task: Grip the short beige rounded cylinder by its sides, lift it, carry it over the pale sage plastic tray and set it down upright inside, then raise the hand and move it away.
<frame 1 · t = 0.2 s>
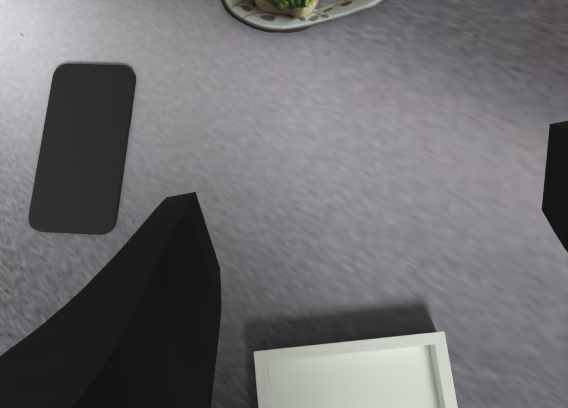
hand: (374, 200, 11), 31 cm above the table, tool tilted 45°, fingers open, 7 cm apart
phone: (87, 149, 46), on the table
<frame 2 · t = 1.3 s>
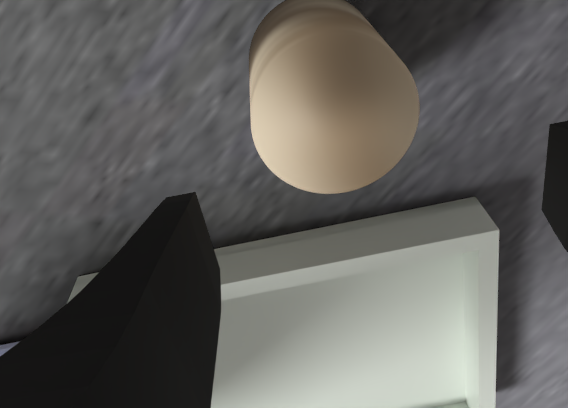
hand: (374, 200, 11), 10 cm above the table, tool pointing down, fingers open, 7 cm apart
beige rounded cylinder: (312, 60, 19), on the table
tray: (300, 345, 27), on the table
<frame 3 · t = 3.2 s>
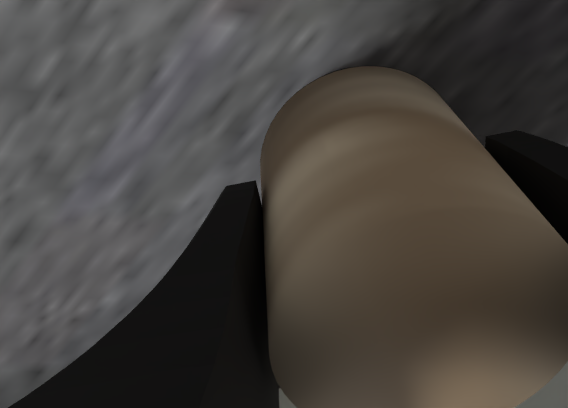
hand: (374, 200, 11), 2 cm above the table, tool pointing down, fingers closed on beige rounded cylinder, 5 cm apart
beige rounded cylinder: (359, 163, 12), on the table, touching gripper
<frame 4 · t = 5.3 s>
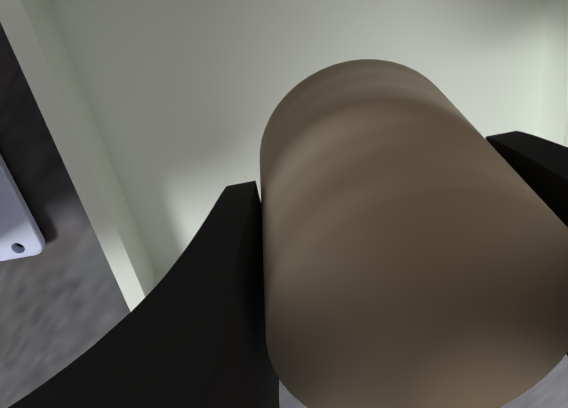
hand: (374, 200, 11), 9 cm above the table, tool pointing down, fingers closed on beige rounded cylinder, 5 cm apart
beige rounded cylinder: (358, 158, 12), point 8 cm above the table, touching gripper
tray: (319, 105, 20), on the table
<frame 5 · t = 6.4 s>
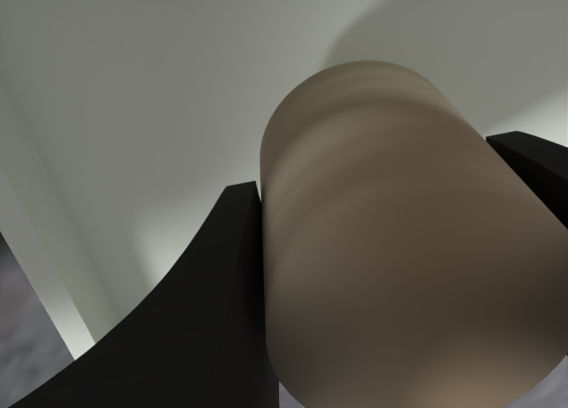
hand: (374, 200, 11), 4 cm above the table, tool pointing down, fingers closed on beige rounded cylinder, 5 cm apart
beige rounded cylinder: (358, 159, 12), point 3 cm above the table, touching gripper
tray: (340, 118, 15), on the table
when the fingers open (4 cm above the table, at t = 7.4 s): beige rounded cylinder drops 1 cm, resting on tray.
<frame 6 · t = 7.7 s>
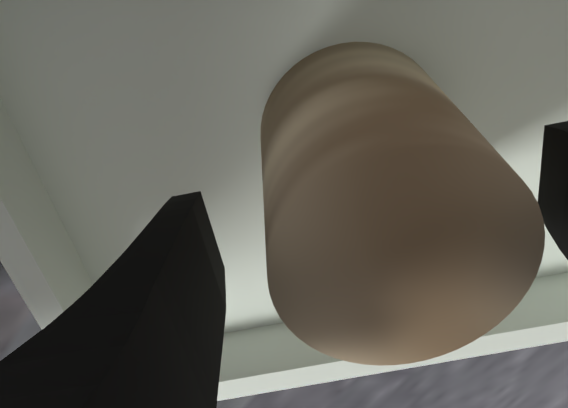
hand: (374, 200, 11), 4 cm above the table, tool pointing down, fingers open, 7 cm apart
beige rounded cylinder: (350, 133, 13), point 1 cm above the table, touching tray
tray: (345, 127, 14), on the table
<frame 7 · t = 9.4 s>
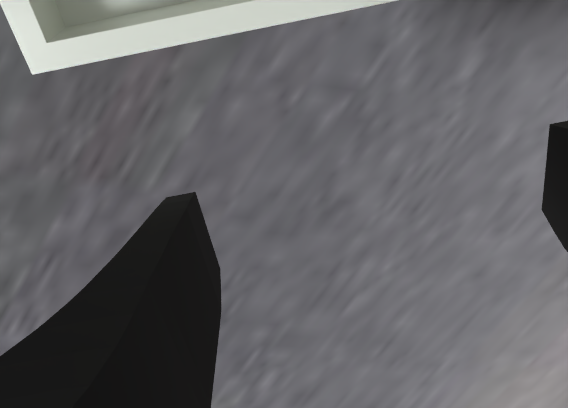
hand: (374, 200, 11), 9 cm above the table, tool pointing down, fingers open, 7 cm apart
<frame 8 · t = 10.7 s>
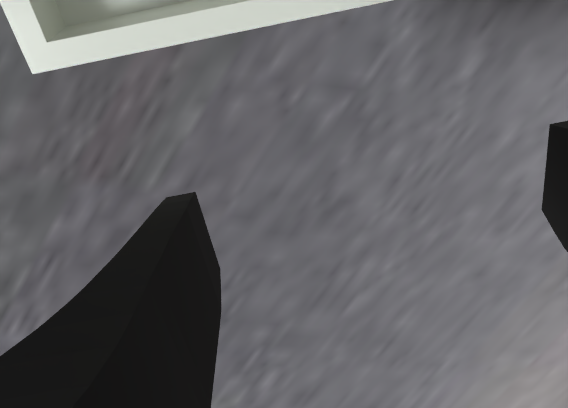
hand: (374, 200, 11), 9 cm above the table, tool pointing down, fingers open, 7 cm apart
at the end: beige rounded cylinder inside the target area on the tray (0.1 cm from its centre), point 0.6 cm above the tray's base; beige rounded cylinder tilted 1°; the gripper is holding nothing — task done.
